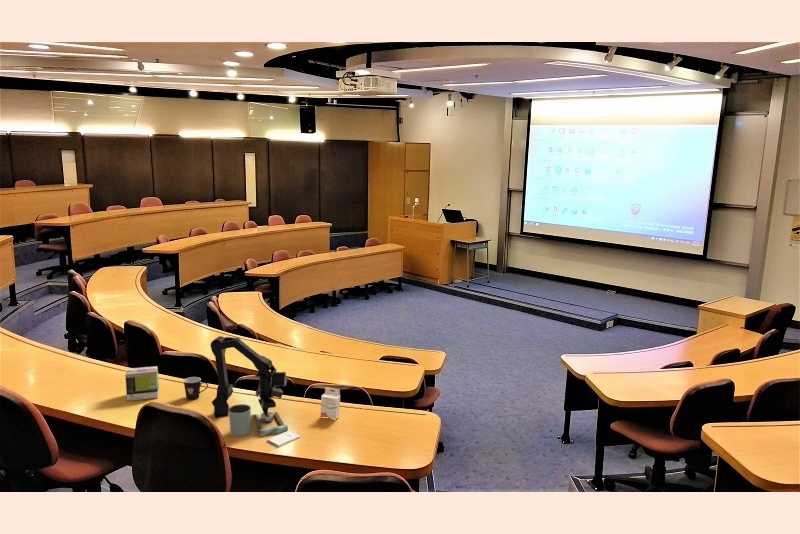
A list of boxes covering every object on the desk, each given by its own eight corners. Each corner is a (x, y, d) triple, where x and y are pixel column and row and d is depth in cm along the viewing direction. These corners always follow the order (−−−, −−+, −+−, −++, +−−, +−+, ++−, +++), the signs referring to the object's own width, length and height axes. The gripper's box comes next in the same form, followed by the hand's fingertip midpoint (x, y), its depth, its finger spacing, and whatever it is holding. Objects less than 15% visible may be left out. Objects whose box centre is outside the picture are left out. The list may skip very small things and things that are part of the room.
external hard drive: (267, 442, 258) (288, 433, 267) (278, 448, 253) (300, 438, 262) (267, 439, 257) (288, 429, 267) (278, 445, 252) (300, 435, 262)
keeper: (262, 423, 275) (262, 418, 274) (259, 418, 280) (259, 413, 280) (274, 421, 277) (274, 416, 277) (271, 416, 283) (271, 411, 282)
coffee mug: (180, 399, 300) (179, 381, 298) (192, 393, 308) (191, 375, 306) (198, 403, 295) (197, 385, 294) (209, 397, 303) (208, 379, 302)
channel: (259, 436, 262) (259, 431, 262) (252, 418, 280) (251, 413, 280) (287, 431, 268) (287, 426, 267) (278, 414, 285) (278, 409, 285)
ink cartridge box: (320, 418, 283) (320, 390, 281) (324, 414, 288) (324, 386, 286) (336, 420, 281) (336, 392, 279) (340, 416, 286) (340, 389, 283)
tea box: (159, 391, 309) (158, 365, 306) (157, 398, 300) (156, 371, 297) (129, 393, 304) (127, 367, 302) (126, 401, 295) (125, 374, 292)
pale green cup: (239, 439, 258) (238, 415, 256) (224, 433, 263) (223, 409, 261) (255, 431, 267) (255, 407, 265) (240, 425, 272) (240, 402, 270)
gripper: (286, 389, 275) (286, 419, 277) (277, 376, 291) (277, 404, 294) (263, 392, 270) (263, 423, 273) (255, 378, 286) (255, 407, 289)
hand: (265, 414), depth 282 cm, fingers closed
